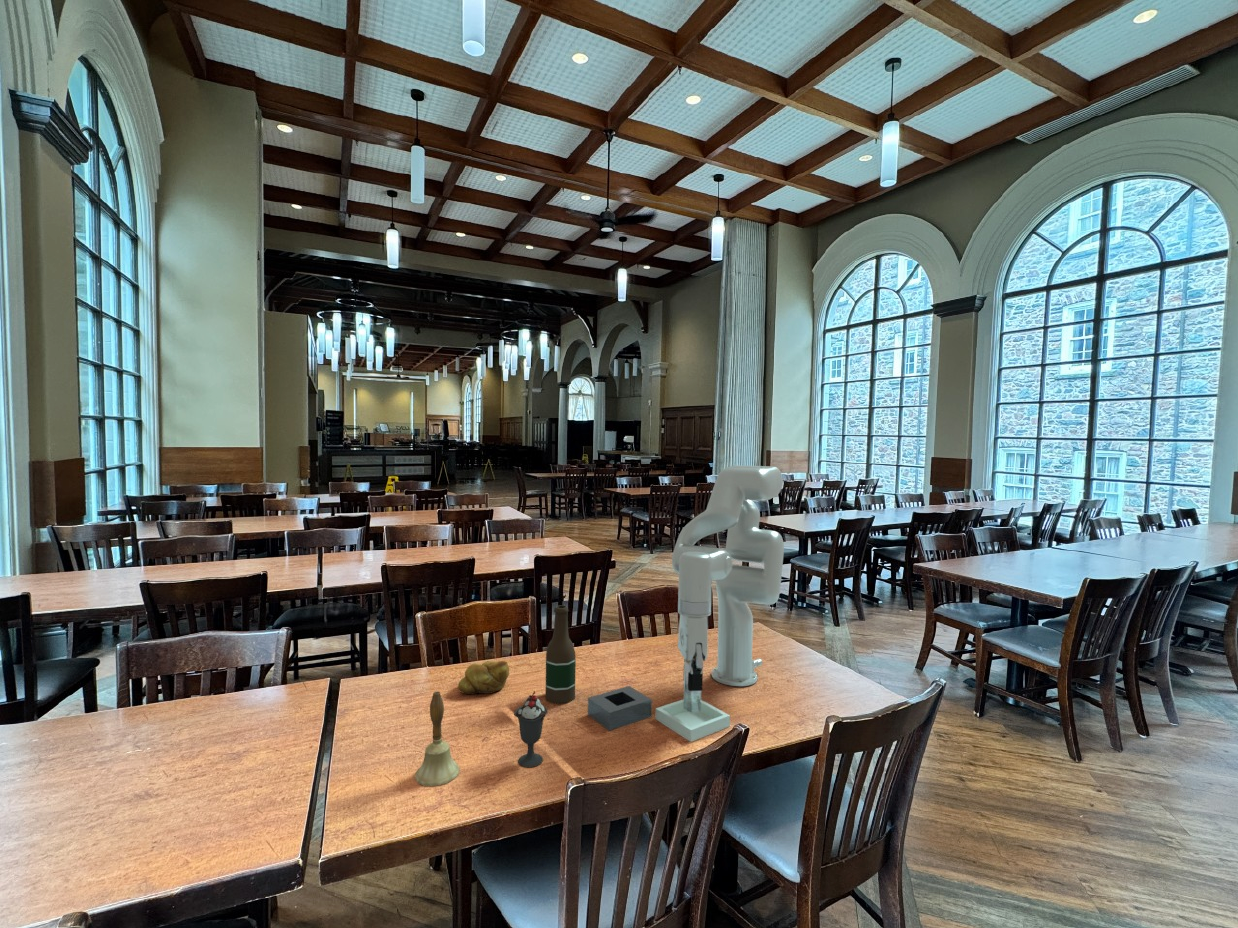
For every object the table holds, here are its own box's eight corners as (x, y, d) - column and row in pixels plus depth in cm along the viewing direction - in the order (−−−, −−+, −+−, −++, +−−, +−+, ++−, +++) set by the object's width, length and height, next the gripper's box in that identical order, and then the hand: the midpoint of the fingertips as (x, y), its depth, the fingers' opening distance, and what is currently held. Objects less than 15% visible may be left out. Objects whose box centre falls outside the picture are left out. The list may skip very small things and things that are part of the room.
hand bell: (422, 791, 101) (422, 706, 101) (409, 770, 108) (409, 689, 108) (465, 776, 106) (466, 695, 106) (451, 757, 113) (451, 680, 113)
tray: (693, 709, 135) (693, 695, 135) (729, 730, 126) (730, 715, 126) (655, 723, 128) (655, 708, 128) (690, 746, 119) (691, 730, 119)
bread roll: (459, 700, 139) (459, 668, 138) (456, 685, 148) (456, 655, 147) (510, 693, 143) (511, 662, 143) (504, 678, 152) (504, 649, 152)
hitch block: (628, 705, 137) (629, 685, 137) (651, 720, 130) (651, 699, 130) (587, 718, 130) (588, 697, 130) (609, 735, 123) (609, 712, 123)
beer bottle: (570, 709, 134) (571, 612, 134) (540, 706, 136) (541, 609, 135) (579, 696, 142) (580, 603, 141) (550, 692, 143) (551, 601, 143)
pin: (681, 704, 128) (682, 652, 128) (698, 703, 129) (699, 652, 129) (685, 712, 124) (686, 659, 124) (702, 711, 125) (704, 659, 125)
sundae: (532, 773, 108) (533, 697, 107) (507, 763, 111) (507, 689, 111) (553, 758, 113) (554, 685, 113) (529, 748, 117) (529, 678, 116)
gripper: (671, 597, 134) (669, 671, 135) (686, 617, 118) (684, 702, 118) (701, 597, 135) (700, 671, 135) (720, 617, 118) (718, 701, 119)
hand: (692, 685), depth 127 cm, fingers closed on pin, 4 cm apart
